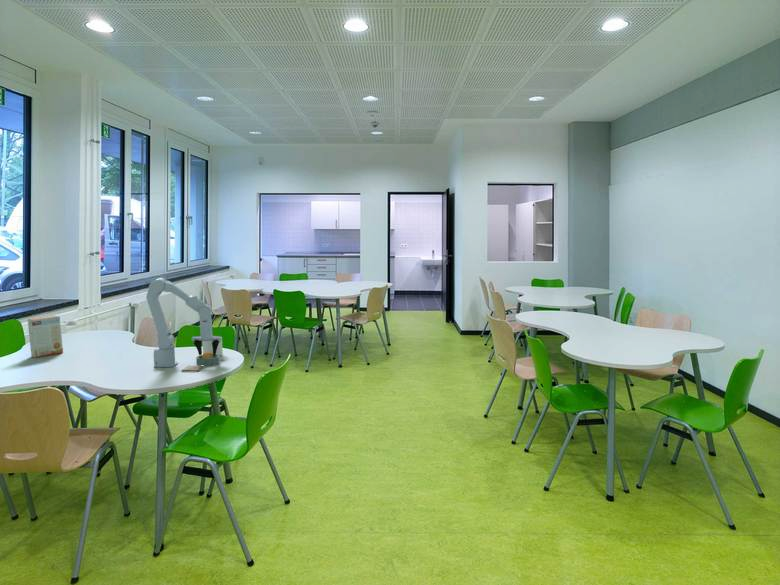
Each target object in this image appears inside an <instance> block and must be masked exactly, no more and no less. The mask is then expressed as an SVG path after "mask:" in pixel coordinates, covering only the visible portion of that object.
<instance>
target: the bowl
mask: <svg viewBox="0 0 780 585" xmlns="http://www.w3.org/2000/svg"><path fill="white" fill-rule="evenodd" d="M202 355H203V354H202ZM202 355H198V356H196V357H195V358H196V359H195V360H196V362H195V363H196V366H199V365H210V366H214V365H213V364H215V365H217V363H218V362H220V356H218V355H213V358H209V359H202ZM218 364H219V363H218Z"/></svg>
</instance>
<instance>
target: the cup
mask: <svg viewBox="0 0 780 585" xmlns="http://www.w3.org/2000/svg"><path fill="white" fill-rule="evenodd" d="M215 336H216V337H221V339H222V340H221V341H220V342H219V344H218V347H217V350H216V355H218V356H219V357H221V356H222V355H223V337H222V336H220V335H215ZM212 342H213V341H202V354H203V353H205V352H211V353H212V354H213V347H212Z"/></svg>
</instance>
